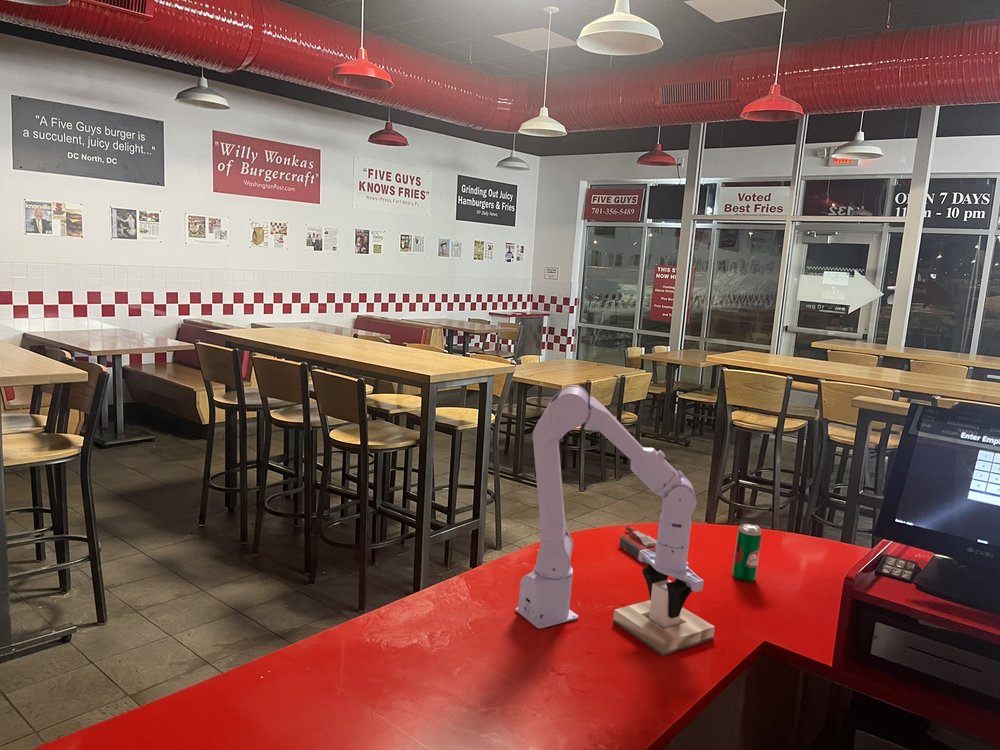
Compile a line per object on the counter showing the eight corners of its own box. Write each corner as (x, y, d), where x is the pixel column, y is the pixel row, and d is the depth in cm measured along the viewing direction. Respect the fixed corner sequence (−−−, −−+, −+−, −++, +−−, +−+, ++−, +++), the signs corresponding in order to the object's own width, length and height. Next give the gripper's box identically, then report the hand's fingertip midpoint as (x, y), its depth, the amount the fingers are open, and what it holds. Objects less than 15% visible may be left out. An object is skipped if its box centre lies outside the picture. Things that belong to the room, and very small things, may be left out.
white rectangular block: (663, 628, 132) (668, 592, 131) (648, 618, 135) (652, 583, 134) (679, 623, 134) (683, 588, 133) (663, 613, 138) (667, 579, 136)
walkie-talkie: (679, 564, 167) (629, 532, 184) (681, 546, 166) (631, 515, 184) (648, 568, 163) (600, 535, 181) (650, 550, 162) (602, 518, 180)
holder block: (662, 655, 126) (663, 642, 126) (613, 621, 137) (614, 609, 137) (713, 639, 133) (714, 626, 133) (662, 607, 144) (664, 596, 144)
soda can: (747, 585, 157) (754, 533, 155) (727, 576, 161) (734, 525, 159) (759, 579, 161) (767, 528, 159) (739, 571, 164) (746, 521, 162)
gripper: (718, 553, 128) (709, 624, 131) (660, 525, 140) (652, 590, 143) (690, 560, 125) (681, 633, 127) (633, 530, 137) (626, 597, 139)
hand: (664, 611), depth 135 cm, fingers closed on white rectangular block, 4 cm apart
